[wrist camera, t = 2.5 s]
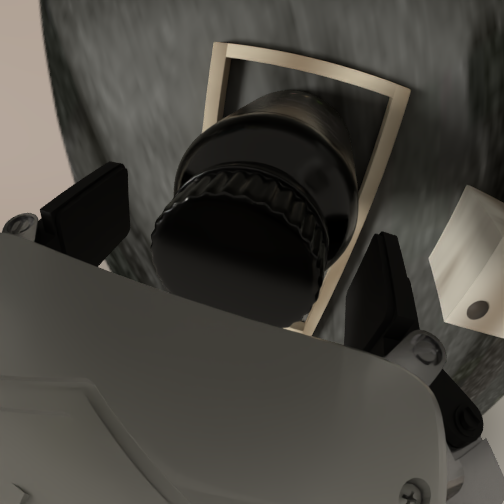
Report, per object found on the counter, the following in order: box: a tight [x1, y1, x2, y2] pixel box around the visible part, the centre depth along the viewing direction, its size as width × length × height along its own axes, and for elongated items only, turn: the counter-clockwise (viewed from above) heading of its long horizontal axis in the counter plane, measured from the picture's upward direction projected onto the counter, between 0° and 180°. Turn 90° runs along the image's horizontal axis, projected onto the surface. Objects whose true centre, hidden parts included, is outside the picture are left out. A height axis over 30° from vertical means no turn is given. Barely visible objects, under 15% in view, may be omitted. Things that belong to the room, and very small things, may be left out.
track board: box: [202, 42, 411, 336], centre depth 23 cm, size 11×30×1 cm, turn 170°
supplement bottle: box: [150, 90, 359, 328], centre depth 13 cm, size 7×7×12 cm
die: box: [429, 185, 504, 338], centre depth 15 cm, size 6×6×6 cm
